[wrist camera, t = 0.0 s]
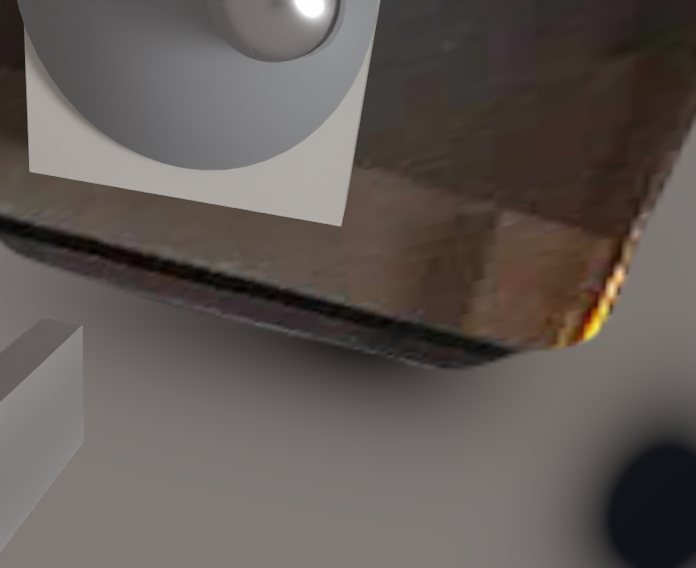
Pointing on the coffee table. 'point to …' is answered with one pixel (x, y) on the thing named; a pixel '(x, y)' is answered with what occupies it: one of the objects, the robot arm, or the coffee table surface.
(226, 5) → the cylinder
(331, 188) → the scale
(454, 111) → the coffee table surface
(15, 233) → the coffee table surface
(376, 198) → the coffee table surface
